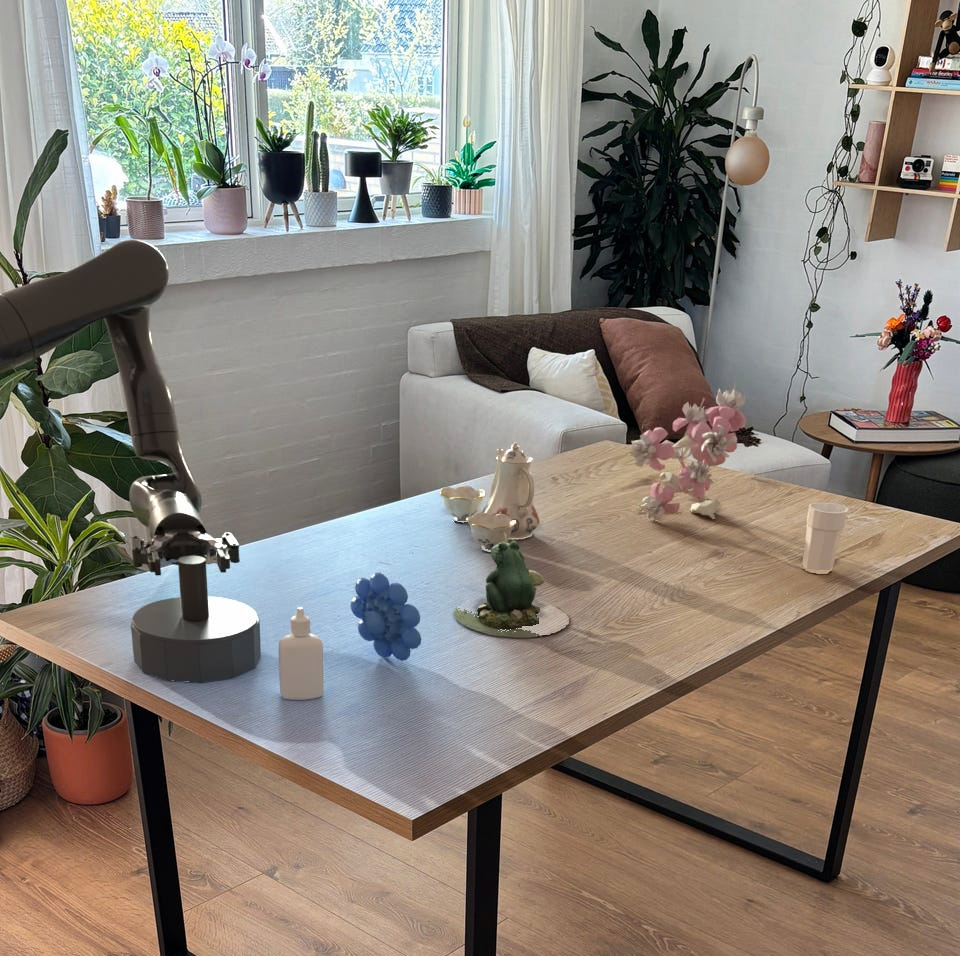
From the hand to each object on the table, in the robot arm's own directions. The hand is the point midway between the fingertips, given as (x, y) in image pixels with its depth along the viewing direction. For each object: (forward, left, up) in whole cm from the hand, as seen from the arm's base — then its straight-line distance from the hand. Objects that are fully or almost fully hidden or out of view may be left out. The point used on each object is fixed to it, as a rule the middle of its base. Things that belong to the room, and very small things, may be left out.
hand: (191, 566), depth 172 cm
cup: (+96, +57, -13) cm, 113 cm away
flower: (+74, +84, -13) cm, 113 cm away
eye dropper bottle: (+16, -10, -13) cm, 23 cm away
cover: (0, +1, -13) cm, 13 cm away
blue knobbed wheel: (+25, +4, -13) cm, 29 cm away
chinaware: (+39, +66, -13) cm, 78 cm away
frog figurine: (+43, +24, -13) cm, 51 cm away
